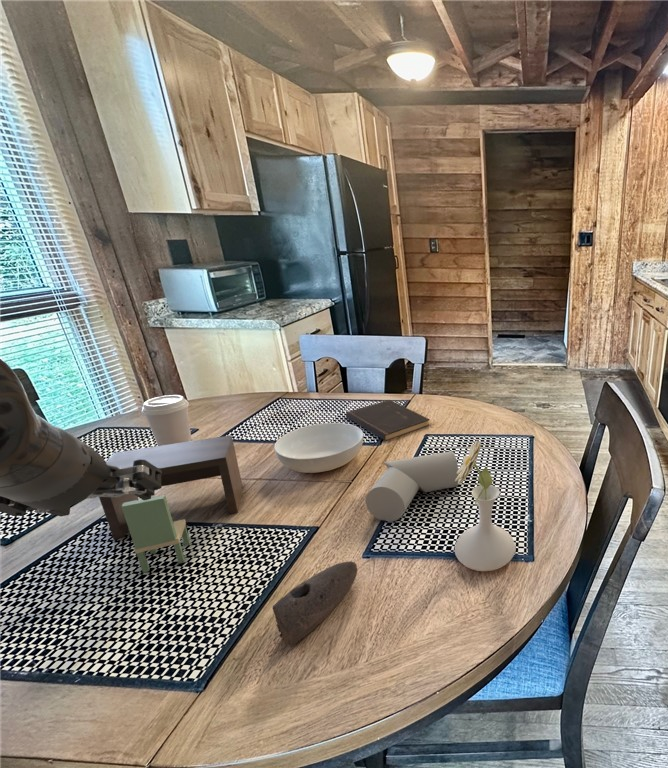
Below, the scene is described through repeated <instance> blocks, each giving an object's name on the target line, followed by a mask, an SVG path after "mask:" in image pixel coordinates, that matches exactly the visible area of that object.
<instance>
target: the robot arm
mask: <svg viewBox="0 0 668 768" xmlns="http://www.w3.org/2000/svg"><path fill="white" fill-rule="evenodd" d="M106 463H107V461H105V459H104V458H103V456H102V455H101V454H100V453H99V452H98V451H97V450H95V449H93V448H92V447H91V446H89V445H87V444H86V443H85V442H83V441H82V440H80V439H79V438H77V437H76V436H75V435H73V434H72V433H71V432H68V430H65V429H63V428H61V427H59V426H57V425H53V424H52V423H50V421H48V420H46V419H45V418H43V417H41V416H40V415H38V414H37V413H36V411H35V410H34V408H33V407H32V404H31V402H30V400H29V397H28V395H27V393H26V389H25V388H24V385H23V383H22V382H21V381H20V378H19V377H18V375H17V373H16V372H15V371H14V370H13V369H12V368H11V366H10V365H9V364H8V363H7V362H6V361H5V360H4V359H2V357H0V512H1V513H4V514H7V515H9V516H12V517H21V516H24V515H26V514H27V512H28V511H34V513H36V514H45V513H47V514H49V515H54V516H58V517H66V516H70V514H71V506H75V505H77V504H78V503H80V502H83V501H84V500H86V499H90V500H91V499H96V498H99V497H121V496H123V495H126V494H135V495H136V496H137V497H138V499H140V500H141V499H142V500H149V499H151V497H155V495H156V491H158V490H161V489H162V487H163V486H162V484H161V474H162V471H161V470H160V469H158V468H157V467H155V466H154V465H152V464H151V463H149V462H148V461H146V460H142V459H139V460H135V461H133V467H129V468H123V469H121V468H118V467H115V466H110V465H107V464H106ZM129 480H132V483H134V487H130V486H129ZM115 485H116V490H110V489H111V488H112V487H113V486H115Z"/></svg>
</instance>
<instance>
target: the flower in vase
mask: <svg viewBox="0 0 668 768" xmlns="http://www.w3.org/2000/svg"><path fill="white" fill-rule="evenodd" d="M481 445H482V442H480V441H479V440H476V441H475V443H471V445H470V446H469V450H468V455H464V456H463V458H462V462H463V463H461V465H460V467H458V471H457V474H459V475H458V477H457V478H456V480H455V481H457V480H458V485H460V484H463V482H464V481H465V480H466V478H467V477H468V476H469V475H470V474H471V472H472V469H473V468H475V469H476V471H477V473H478V474H479V475H478V479H477V480H478V483H479V484H480V485H476V486H475V487H473V488H472V490H471V496H472V498H474V499H475V501H474V505H475V506H478V515H479V516H478V517H479V519H478V524H476V525H474V526H470V527H469V528H467V529H466V530H465V531H463V532H462V533H461V534H460V535H459V536H458V538H457V540H456V542H455V544H454V554H455V558H457V560H458V562H460V563H461V564H462V565H463V566H464V567H466V568H468V569H470V570H473V571H477V572H492V571H496V570H498V569H501V568H504V567H505V566H506V565H507V564H509V562H511V560H512V559H513V558H514V556H515V554H516V543H515V540H514V538H513V537H512V535H511V534H510V533H509V532H508V531H507V530H505V529H504V528H502V527H501V526H498V525H495V524H494V523H493V521H492V516H493V515H492V513H493V507H494V504H495V501H496V500H497V499H498V498H499V496H500V494H501V492H500V489H499V488H498V487H497V486H495V485H493V481H494V480H493V477H492V475H491V473H490V471H489V470H488V468H487V466H485V467H484V468H483V469H482V471H481V470H480V469H479V467H478V465H477V464H476V462H477V460H478V457H479V454H480V450H481V447H482V446H481Z"/></svg>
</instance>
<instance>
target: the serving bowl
mask: <svg viewBox="0 0 668 768" xmlns="http://www.w3.org/2000/svg"><path fill="white" fill-rule="evenodd" d="M363 443H364V432H363V430H362V429H361V428H360V427H358V426H356V425H354V424H350V423H343V422H324V423H323V422H322V423H314V424H309V425H305V426H302V427H298V428H296V429H292V430H291V431H288V432H287V433H285V434H284V435H282V436H280V437H279V438H278V439H277V440H276V442H275V443H274V445H273V450H274V452H275V455H276V458H277V459H278V461H279V462H280V463H281V464H282V465H283V466H284V467H286V468H287V469H289V470H292V471H295V472H298V473H304V474H305V473H306V474H307V473H308V474H313V473H314V474H315V473H323V472H328V471H332V470H335V469H338V468H340V467H343V466H344V465H346V464H348V463H349V462H351V461H352V460H354V459H355V457H357V455H358V454H359V453H360V451H361V449H362V446H363Z"/></svg>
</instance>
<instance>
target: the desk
mask: <svg viewBox="0 0 668 768" xmlns="http://www.w3.org/2000/svg"><path fill="white" fill-rule="evenodd" d="M139 459H142V460H146V461H148V462H149V463H151V464H152V465H154V466H155V467H157V468H158V469H160V470H161V471H162V474H161V484H162V487H167V486H173V485H178V484H183V483H189V482H193V481H195V482H196V481H199V480H204V479H210V478H215V477H220V479H221V483H222V488H223V492H224V496H225V500H226V505H227V509H228V514H229V515H233V514H238V513H239V511H240V510H239V509H240V503H241V497H242V492H243V482H242V477H241V472H240V467H239V463H238V458H237V453H236V449H235V444H234V440H233V435H223V436H218V437H210V438H204V439H197V440H192V441H189V442H183V443H176V444H169V445H163V446H158V445H156V446H151V447H144V448H137V449H131V450H124V451H117V452H113V453H112V455H111V456H110V457H109V459H108V460H107V461H106V464H107V465H110V466H115V467H118V468H121V469H123V468H129V467H133V461H135V460H139ZM129 486H130V487H134V483H132V480H129ZM110 490H116V485H115V486H113V487H112V488H111V489H110ZM98 498H99V501H100V504H101V507H102V510H103V513H104V515H105V519H106V522H107V525H108V526H109V530H110V533H111V536H112V538H113V540H114V541H116V540H121V539H125V537H126V535H127V533H128V531H129V528H128V525H127V522H126V519H125V516H124V513H123V510H122V505H123V503H125V502H131V501H136V500H140V498H139V497H137V496H136V495H135V494H126V495H123V496H121V497H98Z"/></svg>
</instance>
